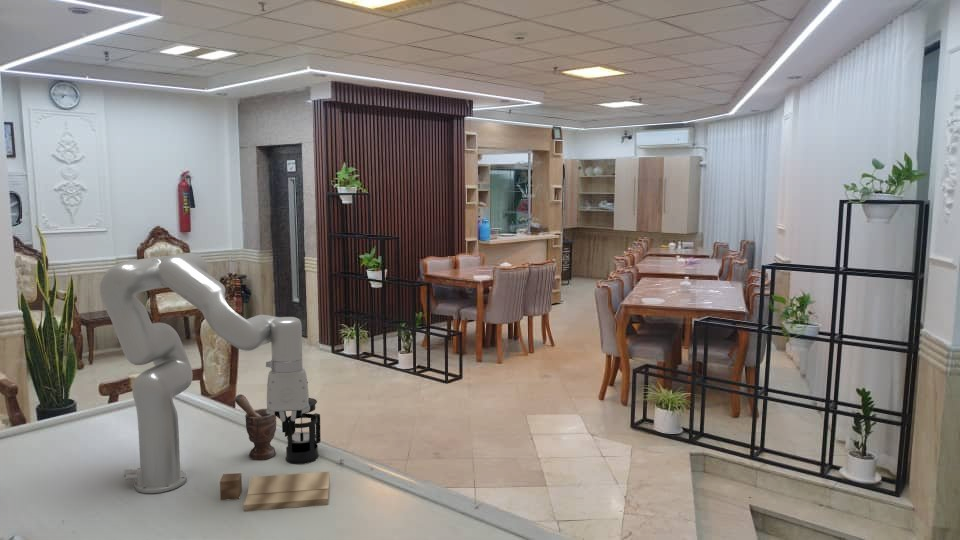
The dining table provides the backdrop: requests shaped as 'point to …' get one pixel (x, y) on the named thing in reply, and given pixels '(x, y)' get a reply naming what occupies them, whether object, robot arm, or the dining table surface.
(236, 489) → the walnut block
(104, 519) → the dining table surface
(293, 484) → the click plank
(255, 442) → the mortar and pestle
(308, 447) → the french press
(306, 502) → the laid board
